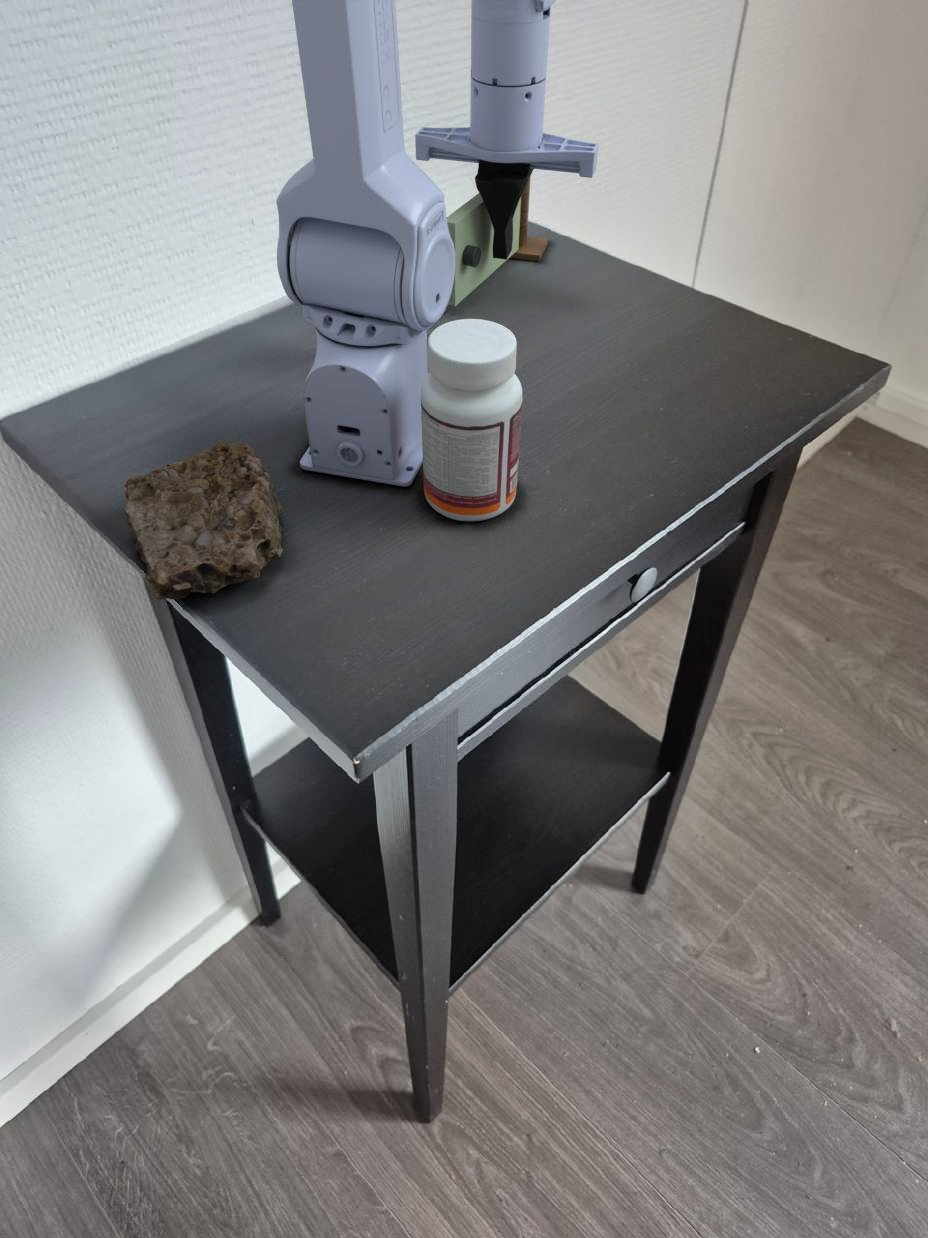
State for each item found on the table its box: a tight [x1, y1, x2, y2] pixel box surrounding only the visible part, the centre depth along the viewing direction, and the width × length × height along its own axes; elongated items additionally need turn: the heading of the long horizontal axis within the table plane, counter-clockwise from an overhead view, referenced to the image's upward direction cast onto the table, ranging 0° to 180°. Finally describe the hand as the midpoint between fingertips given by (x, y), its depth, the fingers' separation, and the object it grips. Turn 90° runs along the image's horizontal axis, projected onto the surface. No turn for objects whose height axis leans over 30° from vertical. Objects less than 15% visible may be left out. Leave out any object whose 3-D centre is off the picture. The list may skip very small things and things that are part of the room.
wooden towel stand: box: [509, 175, 549, 262], centre depth 82 cm, size 4×5×10 cm
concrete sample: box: [123, 440, 284, 600], centre depth 54 cm, size 12×10×5 cm
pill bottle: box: [421, 318, 524, 522], centre depth 55 cm, size 6×6×11 cm
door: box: [446, 192, 521, 307], centre depth 77 cm, size 13×2×7 cm, turn 153°
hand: (501, 253), depth 77 cm, fingers closed
